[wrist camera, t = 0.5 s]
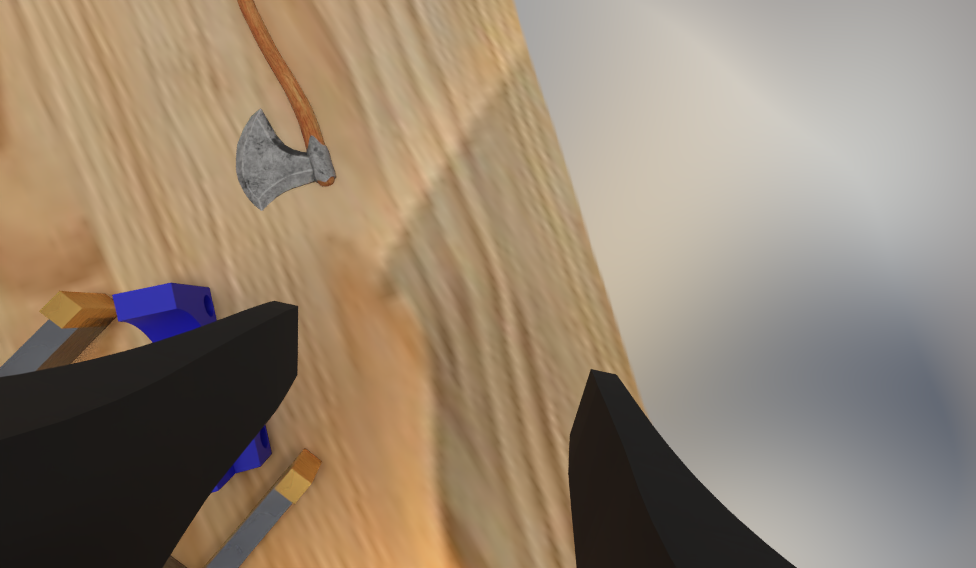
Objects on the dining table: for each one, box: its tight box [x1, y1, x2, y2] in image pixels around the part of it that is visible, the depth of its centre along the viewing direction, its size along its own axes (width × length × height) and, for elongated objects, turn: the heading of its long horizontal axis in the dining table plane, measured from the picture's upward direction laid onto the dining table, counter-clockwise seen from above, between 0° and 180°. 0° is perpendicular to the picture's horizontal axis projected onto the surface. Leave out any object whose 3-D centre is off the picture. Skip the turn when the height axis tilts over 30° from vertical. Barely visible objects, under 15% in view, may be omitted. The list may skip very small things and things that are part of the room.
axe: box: [236, 0, 336, 211], centre depth 35 cm, size 22×6×2 cm, turn 22°
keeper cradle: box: [0, 291, 322, 568], centre depth 30 cm, size 12×18×4 cm, turn 50°
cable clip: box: [112, 283, 272, 493], centre depth 31 cm, size 12×4×6 cm, turn 14°
